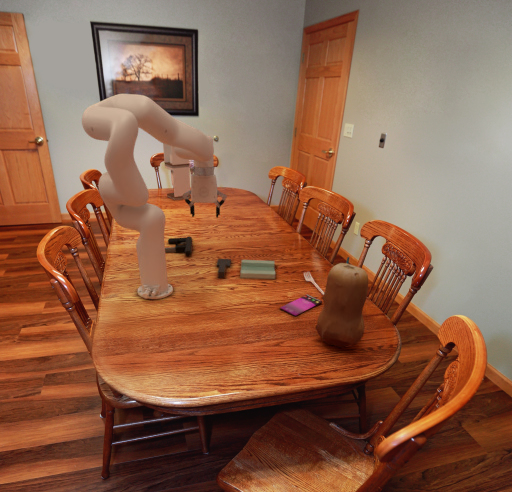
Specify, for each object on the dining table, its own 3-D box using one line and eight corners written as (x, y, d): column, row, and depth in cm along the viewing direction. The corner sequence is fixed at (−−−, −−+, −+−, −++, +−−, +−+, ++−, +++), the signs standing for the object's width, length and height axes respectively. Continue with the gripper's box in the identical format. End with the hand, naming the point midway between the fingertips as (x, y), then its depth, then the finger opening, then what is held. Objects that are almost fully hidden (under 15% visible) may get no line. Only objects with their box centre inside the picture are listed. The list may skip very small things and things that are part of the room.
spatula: (228, 278, 158) (228, 272, 157) (214, 278, 158) (214, 271, 157) (231, 261, 174) (231, 255, 172) (218, 260, 174) (218, 254, 172)
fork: (321, 298, 147) (322, 293, 146) (302, 276, 163) (302, 271, 162) (329, 297, 148) (330, 292, 147) (309, 275, 164) (310, 271, 163)
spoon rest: (275, 279, 160) (275, 274, 158) (240, 278, 159) (240, 272, 158) (274, 265, 171) (274, 260, 170) (241, 264, 171) (241, 259, 170)
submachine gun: (156, 252, 173) (193, 250, 174) (160, 237, 190) (194, 235, 191) (157, 259, 175) (194, 257, 176) (161, 243, 191) (195, 242, 193)
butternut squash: (354, 332, 128) (369, 258, 114) (365, 356, 117) (383, 277, 103) (311, 331, 127) (321, 257, 114) (318, 355, 116) (330, 276, 102)
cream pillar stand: (182, 194, 269) (178, 137, 250) (190, 198, 262) (187, 139, 243) (167, 196, 263) (162, 137, 244) (175, 200, 256) (171, 139, 237)
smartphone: (322, 303, 143) (322, 301, 143) (294, 316, 134) (295, 314, 134) (306, 296, 148) (307, 294, 147) (279, 308, 139) (279, 306, 138)
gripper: (179, 172, 148) (182, 218, 157) (226, 174, 149) (226, 219, 158) (182, 168, 154) (185, 213, 164) (227, 170, 155) (227, 214, 164)
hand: (205, 216), depth 161 cm, fingers open, 9 cm apart
